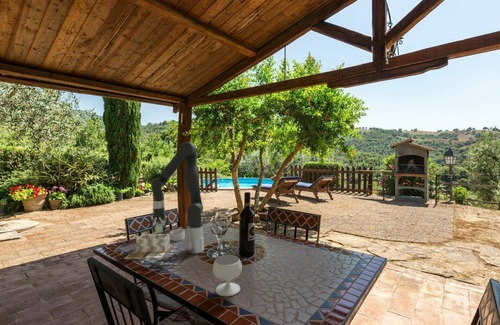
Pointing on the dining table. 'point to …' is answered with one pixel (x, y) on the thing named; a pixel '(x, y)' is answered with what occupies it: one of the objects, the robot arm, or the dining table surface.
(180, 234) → the teacup
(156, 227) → the sage ball
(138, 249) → the sorting board
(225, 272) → the chalice
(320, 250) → the dining table surface
